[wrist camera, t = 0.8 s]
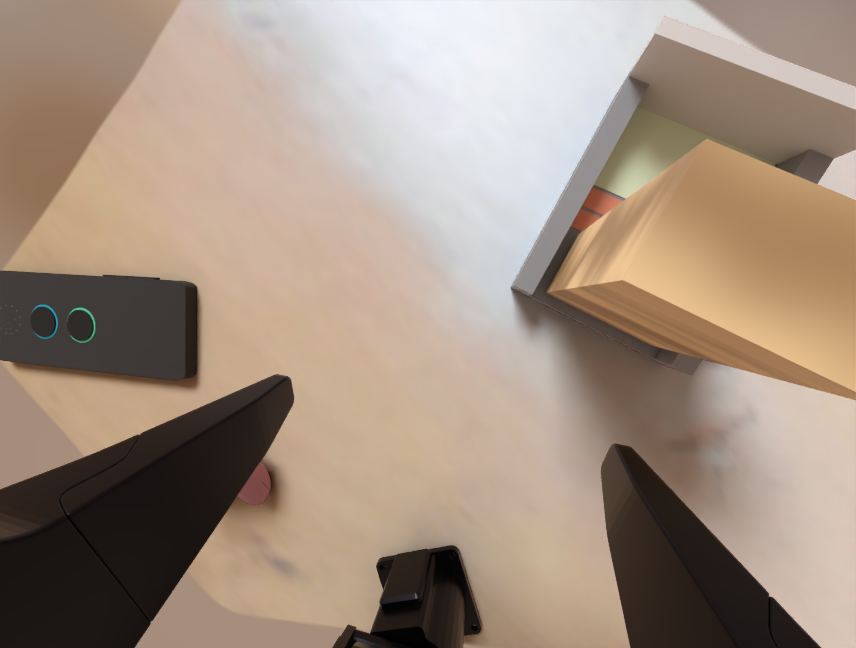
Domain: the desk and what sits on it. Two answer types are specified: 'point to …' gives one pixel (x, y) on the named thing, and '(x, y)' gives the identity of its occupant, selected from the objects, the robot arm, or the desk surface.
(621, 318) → the oak slider
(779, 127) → the rail box
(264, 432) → the robot arm
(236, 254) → the desk surface
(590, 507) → the desk surface
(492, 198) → the desk surface
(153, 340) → the smart home device
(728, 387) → the desk surface
